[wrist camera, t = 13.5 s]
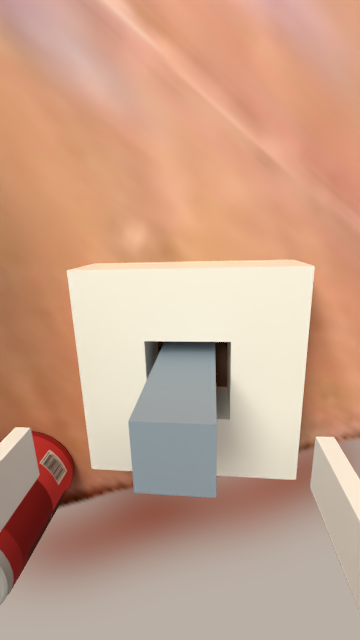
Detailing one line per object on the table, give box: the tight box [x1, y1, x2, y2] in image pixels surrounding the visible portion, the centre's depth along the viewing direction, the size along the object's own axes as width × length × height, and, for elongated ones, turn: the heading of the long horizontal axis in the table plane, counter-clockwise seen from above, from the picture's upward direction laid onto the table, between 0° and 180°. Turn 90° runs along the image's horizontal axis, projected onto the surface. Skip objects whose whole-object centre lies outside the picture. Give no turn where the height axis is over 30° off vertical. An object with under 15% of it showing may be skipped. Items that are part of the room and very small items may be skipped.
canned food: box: [0, 432, 74, 604], centre depth 26 cm, size 8×8×11 cm
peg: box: [128, 341, 217, 498], centre depth 21 cm, size 4×4×13 cm
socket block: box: [67, 260, 315, 480], centre depth 24 cm, size 16×16×5 cm
